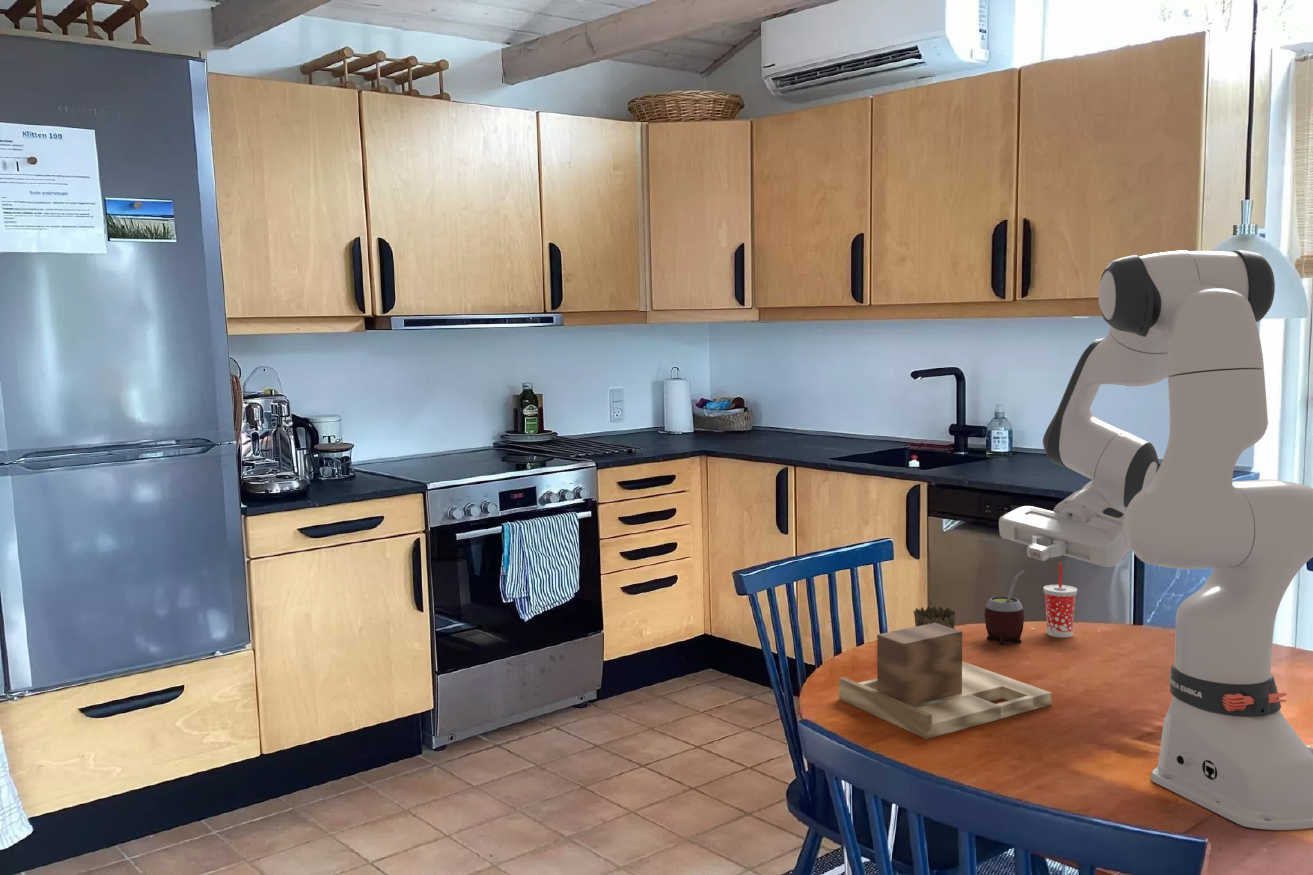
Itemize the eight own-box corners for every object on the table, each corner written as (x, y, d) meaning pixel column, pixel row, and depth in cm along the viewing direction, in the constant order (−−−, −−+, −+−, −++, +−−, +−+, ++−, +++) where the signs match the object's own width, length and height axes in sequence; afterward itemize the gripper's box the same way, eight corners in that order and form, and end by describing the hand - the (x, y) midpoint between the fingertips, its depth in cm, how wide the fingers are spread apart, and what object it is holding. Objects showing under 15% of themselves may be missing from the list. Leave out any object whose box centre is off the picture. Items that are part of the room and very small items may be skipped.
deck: (957, 671, 184) (957, 651, 184) (1051, 705, 167) (1051, 683, 167) (839, 699, 172) (839, 678, 172) (926, 739, 154) (926, 715, 154)
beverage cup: (1072, 640, 200) (1073, 567, 199) (1039, 636, 204) (1040, 564, 202) (1079, 632, 205) (1080, 561, 204) (1046, 628, 209) (1047, 558, 207)
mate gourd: (988, 634, 206) (989, 557, 204) (1031, 638, 202) (1032, 561, 201) (980, 644, 199) (981, 565, 198) (1024, 649, 196) (1025, 569, 194)
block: (934, 682, 173) (934, 622, 172) (961, 693, 167) (962, 631, 166) (877, 696, 167) (877, 634, 166) (903, 708, 162) (903, 643, 161)
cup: (912, 647, 199) (912, 605, 198) (952, 648, 198) (952, 605, 197) (916, 659, 191) (916, 616, 190) (958, 660, 190) (958, 616, 189)
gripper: (1024, 490, 184) (977, 521, 176) (1140, 518, 169) (1094, 553, 161) (1025, 523, 186) (979, 555, 178) (1139, 553, 171) (1095, 590, 163)
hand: (1034, 554), depth 169 cm, fingers closed
